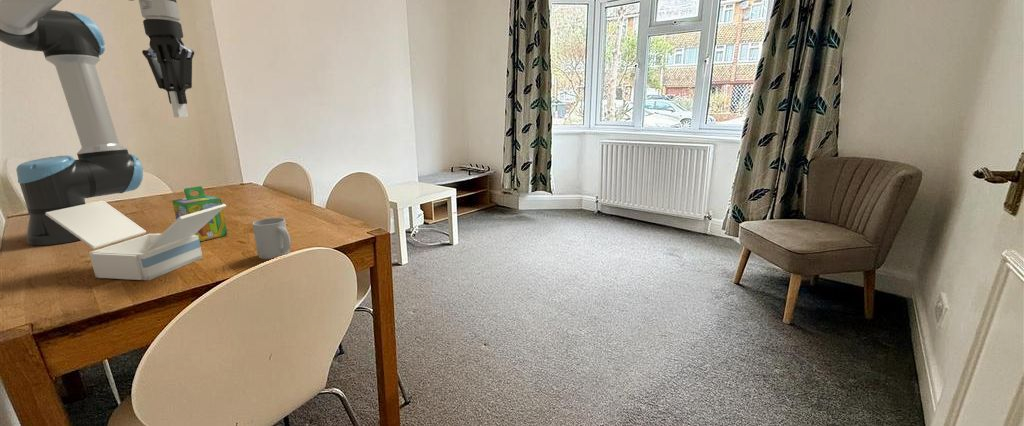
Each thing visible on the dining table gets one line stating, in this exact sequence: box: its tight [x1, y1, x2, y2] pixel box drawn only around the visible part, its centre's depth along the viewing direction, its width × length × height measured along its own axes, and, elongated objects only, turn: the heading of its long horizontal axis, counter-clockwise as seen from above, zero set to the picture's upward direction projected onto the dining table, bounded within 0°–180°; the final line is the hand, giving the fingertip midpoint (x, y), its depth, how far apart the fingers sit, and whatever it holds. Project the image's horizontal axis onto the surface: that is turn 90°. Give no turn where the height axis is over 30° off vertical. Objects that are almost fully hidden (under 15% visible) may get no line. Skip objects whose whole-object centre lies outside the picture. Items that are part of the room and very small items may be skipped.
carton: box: [88, 232, 204, 281], centre depth 101 cm, size 14×15×6 cm
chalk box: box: [171, 185, 228, 242], centre depth 123 cm, size 9×9×15 cm
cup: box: [252, 217, 292, 260], centre depth 108 cm, size 7×10×9 cm
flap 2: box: [145, 203, 227, 251], centre depth 97 cm, size 1×12×13 cm
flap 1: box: [45, 200, 147, 250], centre depth 101 cm, size 1×12×13 cm
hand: (181, 117), depth 112 cm, fingers closed
